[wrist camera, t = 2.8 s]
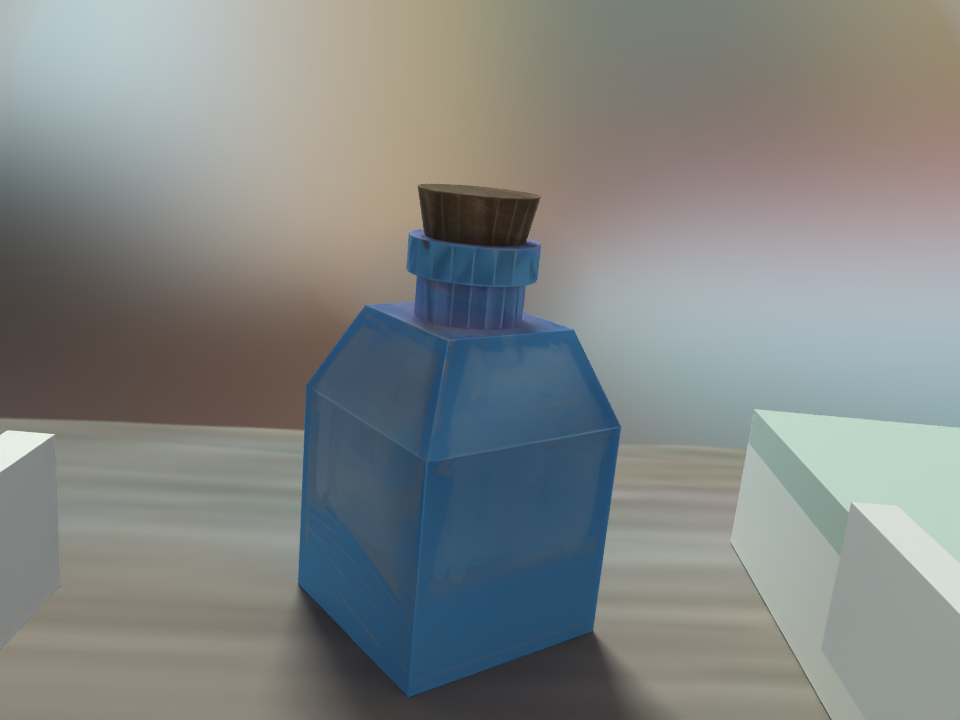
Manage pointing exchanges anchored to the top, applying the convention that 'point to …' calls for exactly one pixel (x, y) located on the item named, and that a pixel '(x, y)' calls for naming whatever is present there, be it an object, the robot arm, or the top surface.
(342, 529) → the perfume bottle
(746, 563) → the mint green square block
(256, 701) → the top surface
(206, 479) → the top surface
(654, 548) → the top surface
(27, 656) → the top surface
